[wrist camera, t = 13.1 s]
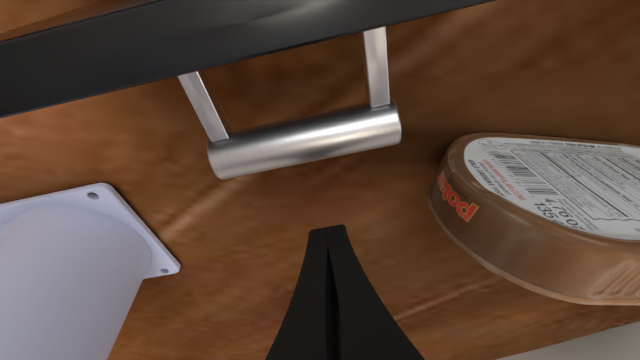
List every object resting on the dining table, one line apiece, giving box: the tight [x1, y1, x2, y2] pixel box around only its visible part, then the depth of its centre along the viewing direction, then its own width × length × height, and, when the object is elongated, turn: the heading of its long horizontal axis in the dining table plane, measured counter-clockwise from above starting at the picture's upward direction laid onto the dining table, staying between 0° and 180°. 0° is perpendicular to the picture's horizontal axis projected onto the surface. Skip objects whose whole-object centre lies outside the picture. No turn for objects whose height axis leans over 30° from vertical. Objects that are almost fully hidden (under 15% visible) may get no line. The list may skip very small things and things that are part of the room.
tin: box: [427, 132, 640, 306], centre depth 13 cm, size 15×3×8 cm, turn 83°
